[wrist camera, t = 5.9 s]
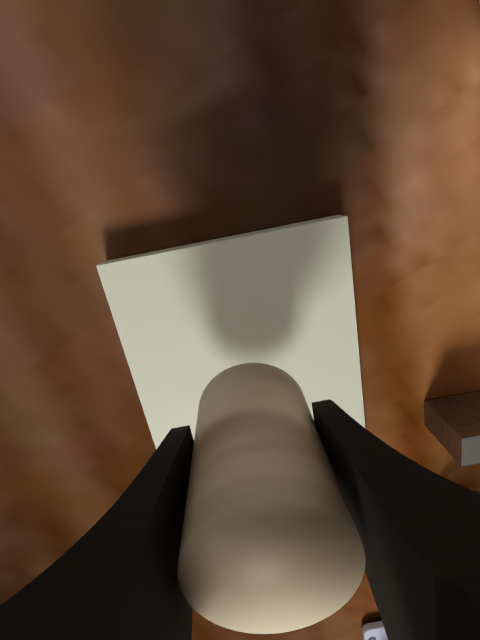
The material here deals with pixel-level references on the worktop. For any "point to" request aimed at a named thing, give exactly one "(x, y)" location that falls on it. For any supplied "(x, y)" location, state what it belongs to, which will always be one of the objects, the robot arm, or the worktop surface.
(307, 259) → the board
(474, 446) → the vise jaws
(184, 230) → the worktop surface
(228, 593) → the birch peg
